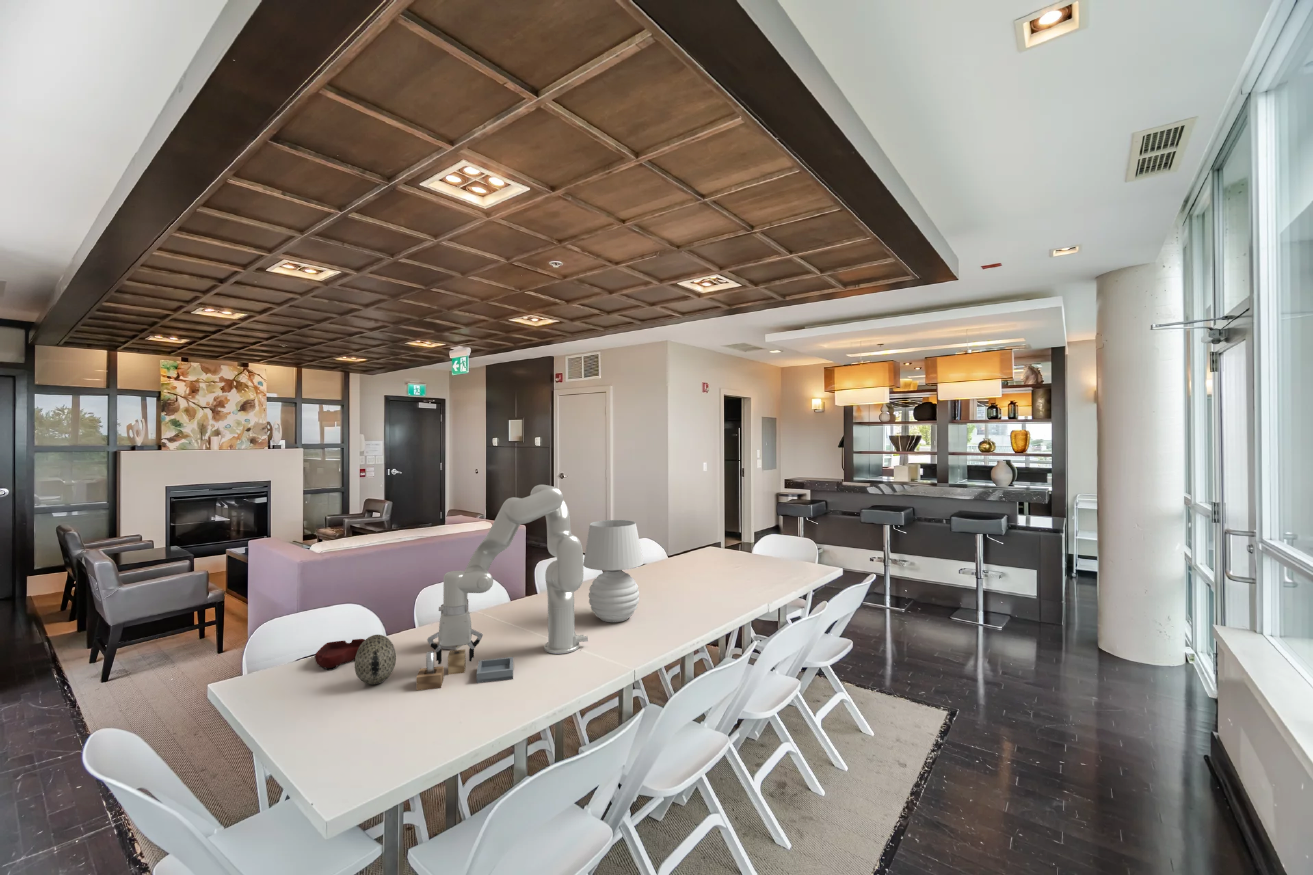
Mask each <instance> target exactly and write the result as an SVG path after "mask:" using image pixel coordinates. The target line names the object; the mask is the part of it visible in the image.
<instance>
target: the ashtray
mask: <svg viewBox="0 0 1313 875" xmlns="http://www.w3.org/2000/svg"><path fill="white" fill-rule="evenodd" d="M365 640H366V638H356V639H352V640H351V641H350V642H347V641H346V640H337V641H330V642H326V643H325V644H324V645H322V647H320V648H319V649H318V650H317V651H316V653H315V654H314V660H315V663H316V665H318V666H319V667H321V668H325V669H326V671H332V670H336V669H337V667H339V666H340V665H343V664H347V663H350V662H352V661H355V657H356V653H357V651H358V649H359V647H360V645H361V644H362V643H363V642H364V641H365Z"/></svg>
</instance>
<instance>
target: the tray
mask: <svg viewBox="0 0 1313 875" xmlns="http://www.w3.org/2000/svg"><path fill="white" fill-rule="evenodd" d="M508 680H514V657H513V656H508V657H498V658H490V659H489V658H487V659H480V660H478V664H477V670H476V684H480V683H481V684H482V683H490V682H491V683H493V682H499V681H508Z"/></svg>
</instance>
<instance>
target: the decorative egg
mask: <svg viewBox="0 0 1313 875" xmlns="http://www.w3.org/2000/svg"><path fill="white" fill-rule="evenodd" d="M396 662H397V656H396V649H395V646H394V644H393V642H392V641H391V640H390V639H389V638H388V637H386V636H385V635H384V634H383V635H382V634H372V635H370V636H368V637H367V638H365V641H364V642H363V643H362V644H361V645H360V647H359V649H358V651H357V653H356V657H355V660H354V671H355V675H356V677H357V678H358V679H359V680H360V681H361V682H362V683H364V684H366V685H378V684H381V683H384V681H386V680H387V679H388V678H389V677H390V676H391V675H392V673H393V671H394V670H395V667H396V664H397V663H396Z"/></svg>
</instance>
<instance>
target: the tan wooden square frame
mask: <svg viewBox="0 0 1313 875" xmlns="http://www.w3.org/2000/svg"><path fill="white" fill-rule="evenodd" d="M417 672H418V673H417V675H416V680H415V681H416V682H415V684H416V691H418V692H419V691H425V690H434V689H442V686H443V682H444V679H445V678H444V677H445V674H444V672H445V669H444V665H440V666H434V674H427V668H426V667H422V668H419V670H418V671H417Z"/></svg>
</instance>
